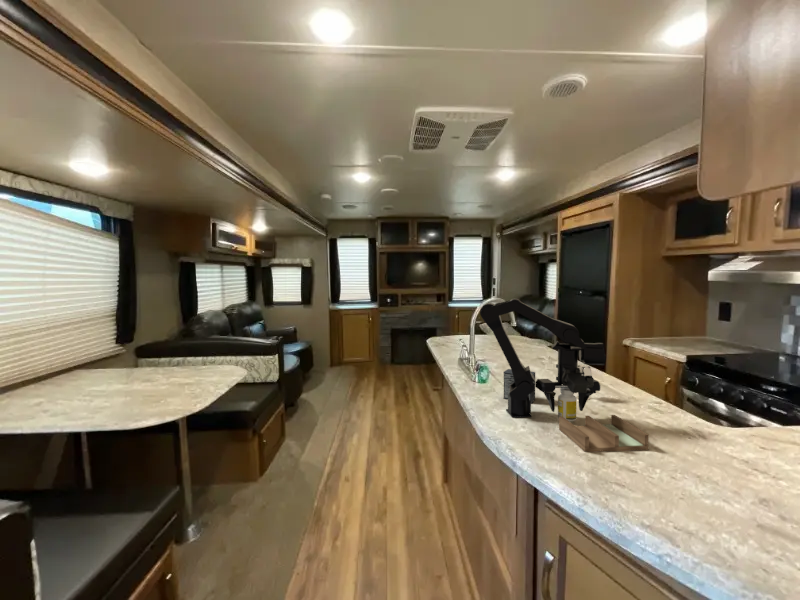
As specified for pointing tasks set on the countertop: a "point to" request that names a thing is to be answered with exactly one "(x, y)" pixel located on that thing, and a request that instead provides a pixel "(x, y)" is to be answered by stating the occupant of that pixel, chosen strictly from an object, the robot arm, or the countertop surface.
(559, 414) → the supplement bottle
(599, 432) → the slot rack
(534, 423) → the countertop surface
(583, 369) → the wineglass
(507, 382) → the small box
